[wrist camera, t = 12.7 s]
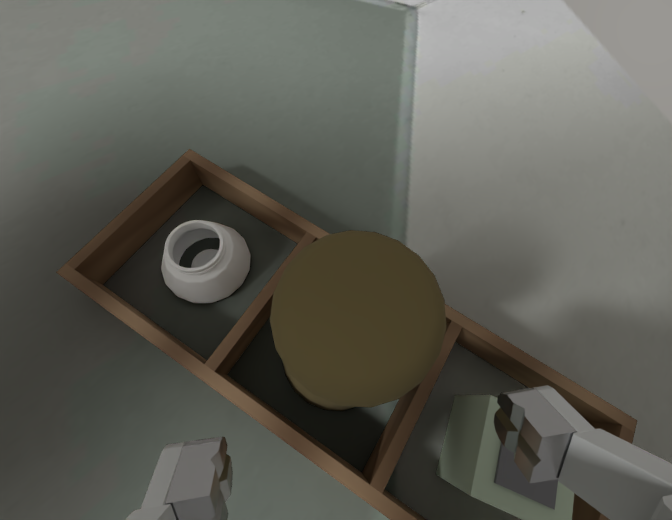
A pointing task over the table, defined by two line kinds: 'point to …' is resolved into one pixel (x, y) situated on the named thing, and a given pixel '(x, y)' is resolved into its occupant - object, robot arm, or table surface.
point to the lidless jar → (205, 262)
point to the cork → (357, 320)
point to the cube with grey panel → (495, 465)
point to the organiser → (159, 206)
